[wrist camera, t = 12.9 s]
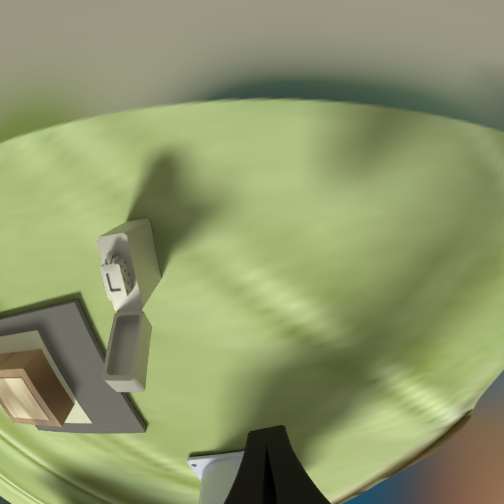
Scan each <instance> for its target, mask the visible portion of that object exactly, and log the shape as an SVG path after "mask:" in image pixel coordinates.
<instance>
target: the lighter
mask: <svg viewBox="0 0 504 504" xmlns="http://www.w3.org/2000/svg"><path fill="white" fill-rule="evenodd" d="M97 243H98V248H99V252H100V257H101V261H102V266H101V267H100V270H101V274H102V278H103V281H104V285H105V289H106V292H107V296H108V299H110V300H112V302H113V306H114V309H115V310H116V311H118V312H117V313H116V314H115V315H114V319H113V324H112V328H111V333H110V338H109V343H108V348H107V353H106V358H105V363H104V369H103V375H102V378H103V379H104V380H105V381H106V382H107V383H108V384H109V385H110V386H111V387H112V388H113V389H114V390H115V391H116V392H142V391H144V390H145V385H146V374H147V364H148V355H149V346H150V338H151V330H152V326H151V324H150V322H149V321H148V319H147V317H146V315H145V313H144V312H143V311H142V308H143V307H144V305H145V304H146V302H147V301H148V299H149V297H150V296H151V294H152V293H153V291H154V289H155V288H156V286H157V285H158V283H159V282H160V280H161V279H162V277H161V273H160V268H159V263H158V259H157V254H156V249H155V243H154V238H153V233H152V227H151V222H150V220H149V219H148V218H144V219H138V220H132V221H127V222H125V223H123V224H121V225H119V226H117V227H116V228H114V229H112V230H110V231H108V232H107V233H105V234H103V235H101V236H100V237H99V238H98V240H97Z"/></svg>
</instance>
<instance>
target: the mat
mask: <svg viewBox="0 0 504 504" xmlns="http://www.w3.org/2000/svg"><path fill="white" fill-rule="evenodd" d="M36 349H42V351H43V353H44V355H45V357H46V359H47V360H48V362H49V364H50V366H51V367H52V369H53V371H54V373H55V374H56V376H57V378H58V379H59V381H60V383H61V384H62V386H63V388H64V389H65V391H66V392H67V394H68V395H69V397H70V398H71V400H72V402H73V403H74V407H73V408H72V410H71V412H70V414H69V415H68V417H67V419H66V421H65V422H64V424H63V426H62V427H58V426H43V425H35V426H36V427H37V429H38V430H43V431H55V432H71V433H144V432H146V429H147V427H146V426H145V424H144V423H143V421H142V419H141V418H140V416H139V415H138V413H137V412H136V410H135V408H134V407H133V405H132V403H131V402H130V400H129V398H128V397H127V395H126V393H125V392H116V391H115V390H114V389H113V388H112V387H111V386H110V385H109V384H108V383H107V382H106V381H105V380H104V379H103V378H102V375H103V369H104V363H105V358H106V357H105V355H104V353H103V351H102V349H101V347H100V345H99V343H98V341H97V339H96V337H95V335H94V333H93V331H92V329H91V327H90V324H89V322H88V320H87V318H86V316H85V313H84V311H83V309H82V306H81V304H80V302H79V299H76V300H72V301H68V302H64V303H60V304H56V305H52V306H47V307H43V308H39V309H35V310H31V311H27V312H23V313H18V314H14V315H10V316H6V317H2V318H0V354H3V353H12V352H20V351H28V350H36Z"/></svg>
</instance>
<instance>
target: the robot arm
mask: <svg viewBox="0 0 504 504" xmlns="http://www.w3.org/2000/svg"><path fill="white" fill-rule="evenodd" d="M187 463H188V464H189V466H190V467H191V468H192V470H193V471H194V472H195V474H196V475H197V477H198V478H199V479H200V481H201V488H200V499H199V504H331V503H330V502H329V501H328V500H327V499H326V498H325V496H324V495H323V494H322V493H321V492H320V491H319V489H318V488H317V487H316V485H315V484H314V483H313V481H312V480H311V479H310V477H309V476H308V474H307V473H306V471H305V470H304V468H303V467H302V465H301V463H300V462H299V460H298V458H297V457H296V455H295V453H294V451H293V449H292V447H291V445H290V442H289V438H288V435H287V432H286V428H285V426H283V425H279V426H275V427H270V428H265V429H259V430H254V431H250V432H249V433H248V437H247V442H246V447H245V451H240V452H233V453H225V454H217V455H208V456H197V457H189V458H188V459H187Z"/></svg>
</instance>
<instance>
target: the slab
mask: <svg viewBox="0 0 504 504" xmlns="http://www.w3.org/2000/svg"><path fill="white" fill-rule="evenodd" d="M0 404H1V405H2V407H3V408H4V410H5V411H6V413H7V414H8V415H9V417H10V418H11V419H12V421H13V422H14V423H22V424H32V425H43V426H58V427H62V426H63V424H64V422H65V421H66V419H67V417H68V415H69V414H70V412H71V410H72V408H73V407H74V403H73V402H72V400H71V398H70V397H69V395H68V394H67V392H66V391H65V389H64V388H63V386H62V384H61V383H60V381H59V379H58V378H57V376H56V374H55V373H54V371H53V369H52V367H51V366H50V364H49V362H48V360H47V359H46V357H45V355H44V353H43V351H42V349H36V350H28V351H20V352H12V353H3V354H0Z"/></svg>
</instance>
